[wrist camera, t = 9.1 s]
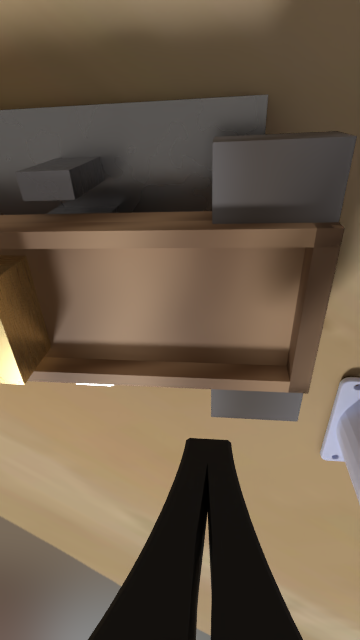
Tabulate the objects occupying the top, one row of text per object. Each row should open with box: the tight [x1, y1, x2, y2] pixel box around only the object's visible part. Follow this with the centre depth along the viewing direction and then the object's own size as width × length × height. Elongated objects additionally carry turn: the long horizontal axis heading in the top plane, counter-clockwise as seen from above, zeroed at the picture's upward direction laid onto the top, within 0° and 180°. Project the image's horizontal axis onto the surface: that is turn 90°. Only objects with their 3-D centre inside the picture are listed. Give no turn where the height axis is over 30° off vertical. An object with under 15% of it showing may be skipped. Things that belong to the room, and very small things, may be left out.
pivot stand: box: [0, 95, 268, 386], centre depth 16 cm, size 16×14×5 cm
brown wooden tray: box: [0, 131, 357, 421], centre depth 14 cm, size 20×12×3 cm, turn 93°
